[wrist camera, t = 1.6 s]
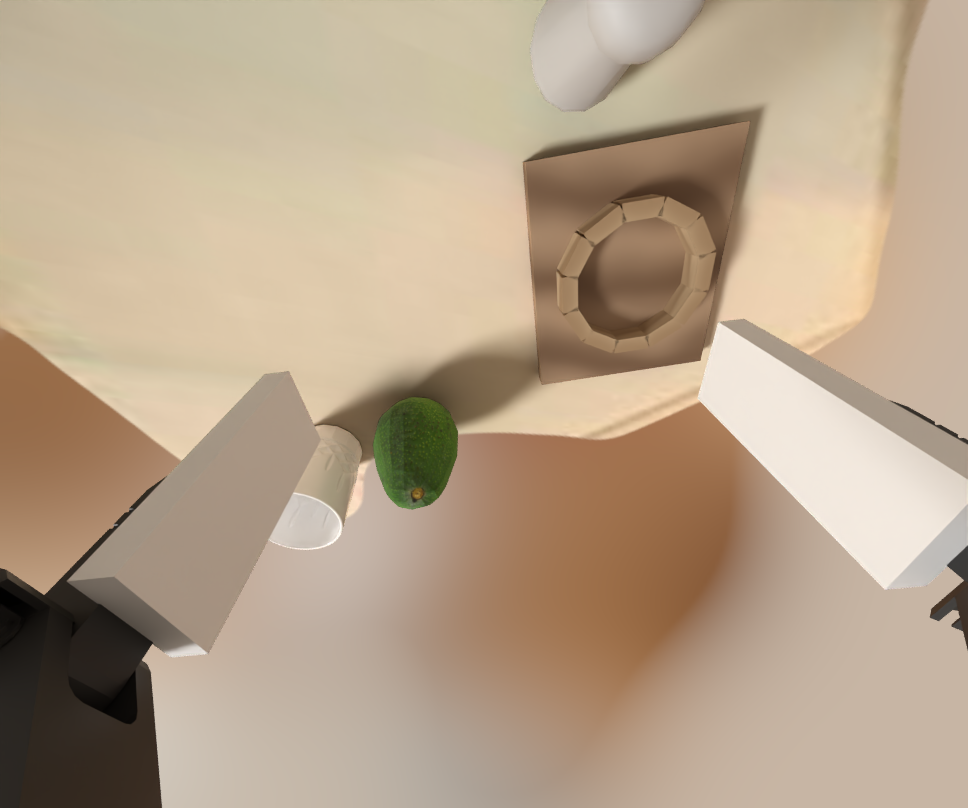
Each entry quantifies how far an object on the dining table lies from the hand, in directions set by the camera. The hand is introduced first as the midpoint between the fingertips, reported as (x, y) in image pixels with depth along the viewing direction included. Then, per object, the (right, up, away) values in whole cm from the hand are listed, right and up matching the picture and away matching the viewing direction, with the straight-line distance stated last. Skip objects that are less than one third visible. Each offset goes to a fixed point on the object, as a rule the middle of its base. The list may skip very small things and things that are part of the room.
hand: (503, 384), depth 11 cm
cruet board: (+11, +11, +19) cm, 24 cm away
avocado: (-7, -1, +26) cm, 27 cm away
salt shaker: (+5, +21, +12) cm, 25 cm away
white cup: (-18, -5, +29) cm, 34 cm away
